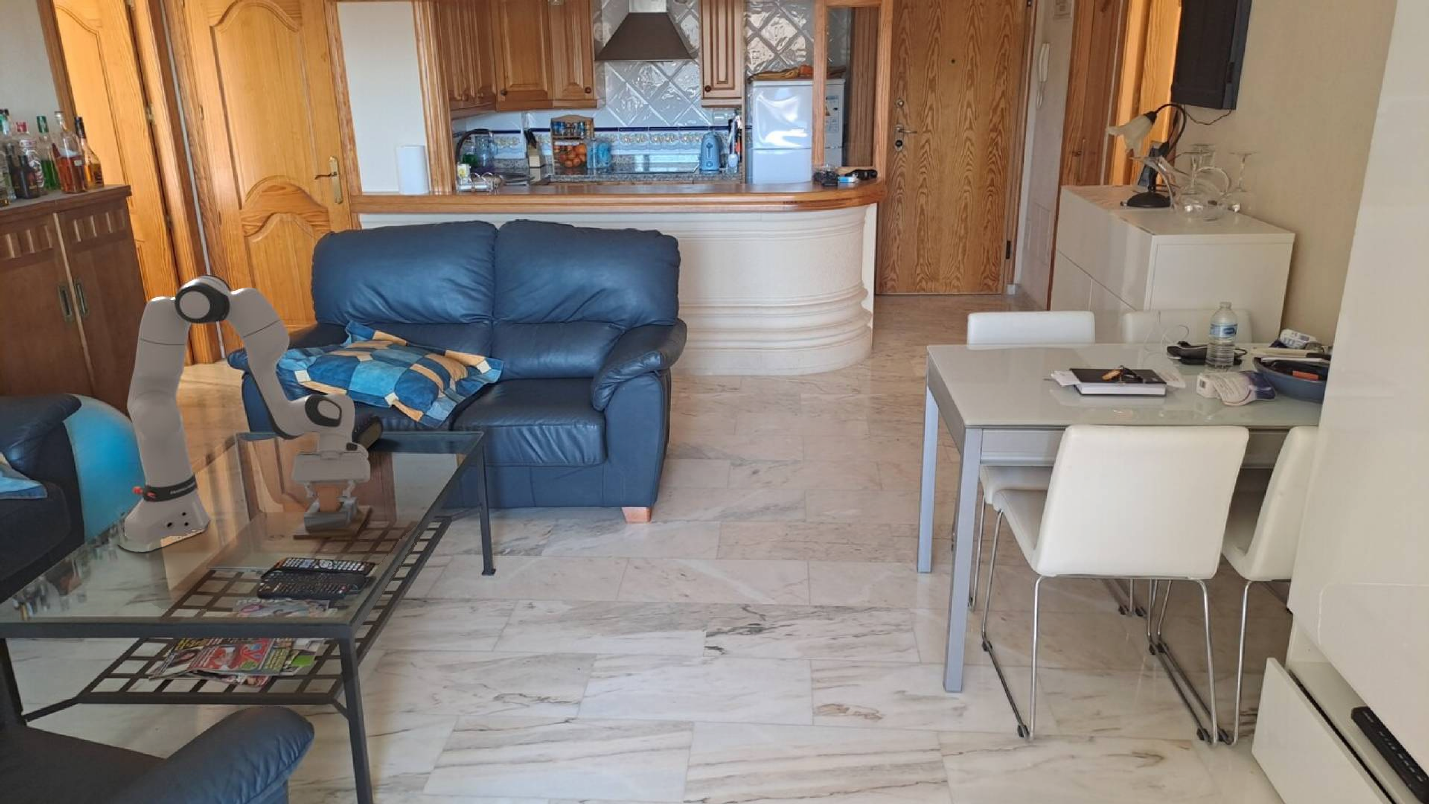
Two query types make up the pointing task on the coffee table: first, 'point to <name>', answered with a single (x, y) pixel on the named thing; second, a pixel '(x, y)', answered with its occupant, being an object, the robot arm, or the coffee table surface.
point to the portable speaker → (367, 429)
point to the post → (329, 499)
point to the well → (333, 520)
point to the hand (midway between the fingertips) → (328, 498)
